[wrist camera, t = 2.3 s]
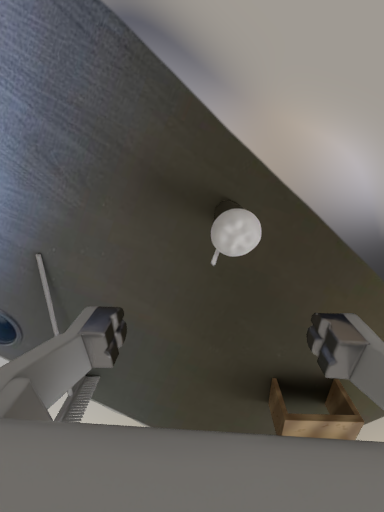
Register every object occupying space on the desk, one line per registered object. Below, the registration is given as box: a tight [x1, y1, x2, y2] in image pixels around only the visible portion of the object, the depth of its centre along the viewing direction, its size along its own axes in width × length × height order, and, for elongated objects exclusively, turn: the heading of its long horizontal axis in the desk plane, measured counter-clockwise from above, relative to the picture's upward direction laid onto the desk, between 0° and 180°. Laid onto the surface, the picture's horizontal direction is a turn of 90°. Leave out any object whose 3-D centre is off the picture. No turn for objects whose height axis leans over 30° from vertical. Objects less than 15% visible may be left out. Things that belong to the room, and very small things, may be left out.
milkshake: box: [211, 200, 261, 266], centre depth 22 cm, size 4×5×10 cm
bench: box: [268, 378, 365, 440], centre depth 36 cm, size 12×8×9 cm, turn 94°
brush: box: [36, 254, 100, 423], centre depth 34 cm, size 4×28×9 cm, turn 1°
